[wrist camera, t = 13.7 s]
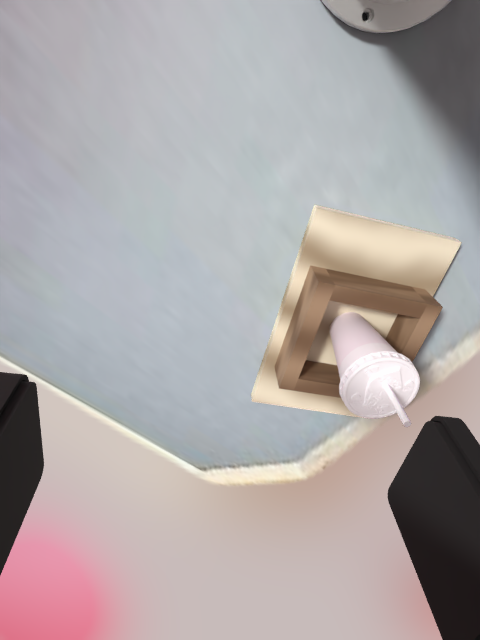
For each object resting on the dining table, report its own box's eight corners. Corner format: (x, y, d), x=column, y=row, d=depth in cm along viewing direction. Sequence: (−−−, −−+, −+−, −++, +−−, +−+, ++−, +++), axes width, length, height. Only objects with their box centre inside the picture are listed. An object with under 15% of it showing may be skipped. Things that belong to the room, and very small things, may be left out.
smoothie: (392, 314, 42) (466, 412, 29) (355, 362, 44) (409, 469, 32) (339, 289, 40) (394, 382, 28) (304, 341, 42) (340, 445, 30)
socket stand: (314, 204, 37) (327, 221, 33) (455, 238, 39) (483, 257, 35) (251, 394, 47) (254, 424, 43) (364, 411, 50) (378, 441, 46)
